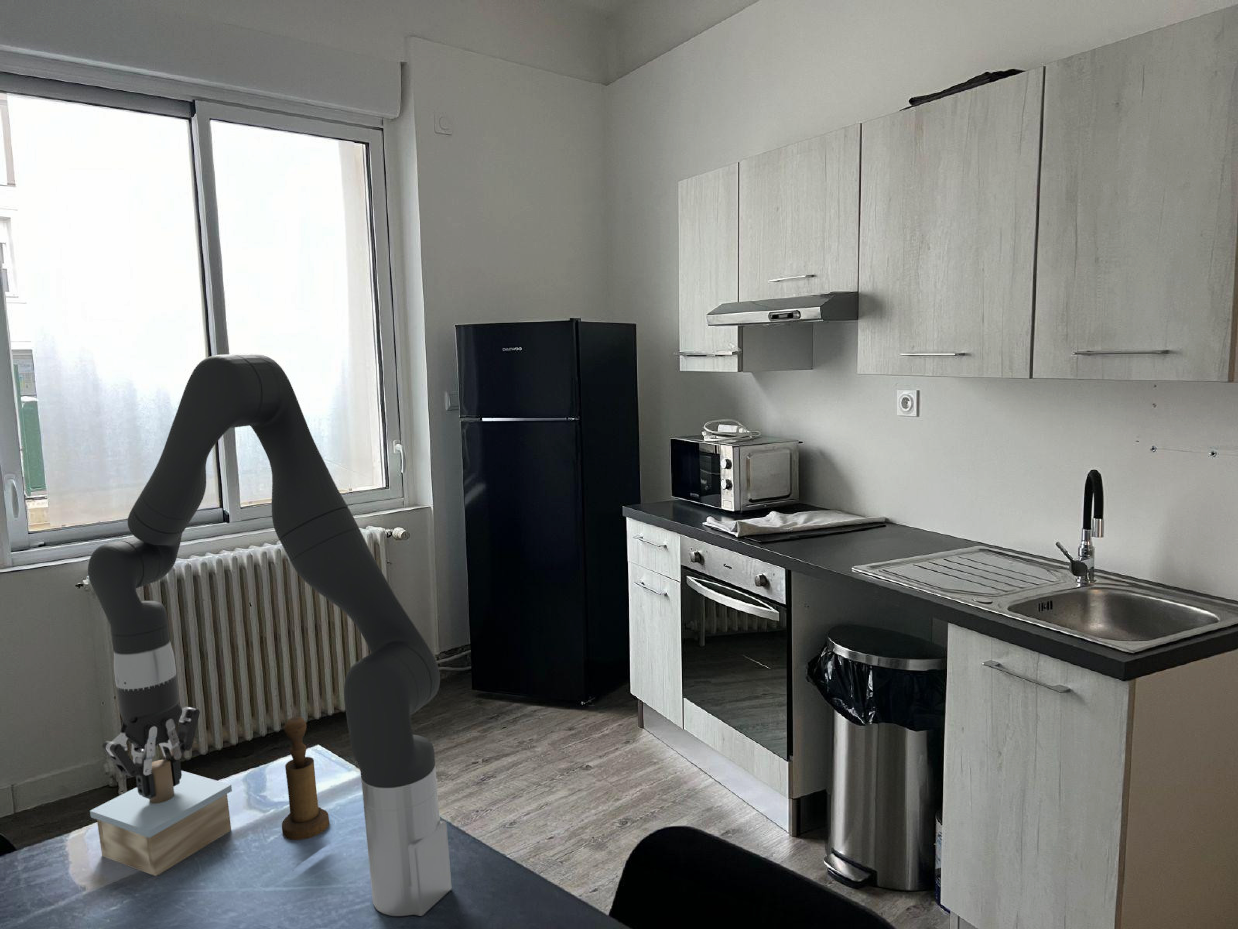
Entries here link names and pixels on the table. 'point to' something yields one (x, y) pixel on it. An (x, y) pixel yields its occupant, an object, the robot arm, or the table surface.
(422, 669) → the robot arm
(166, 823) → the lid
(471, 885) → the table surface
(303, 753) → the mortar and pestle
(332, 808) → the table surface
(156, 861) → the box
